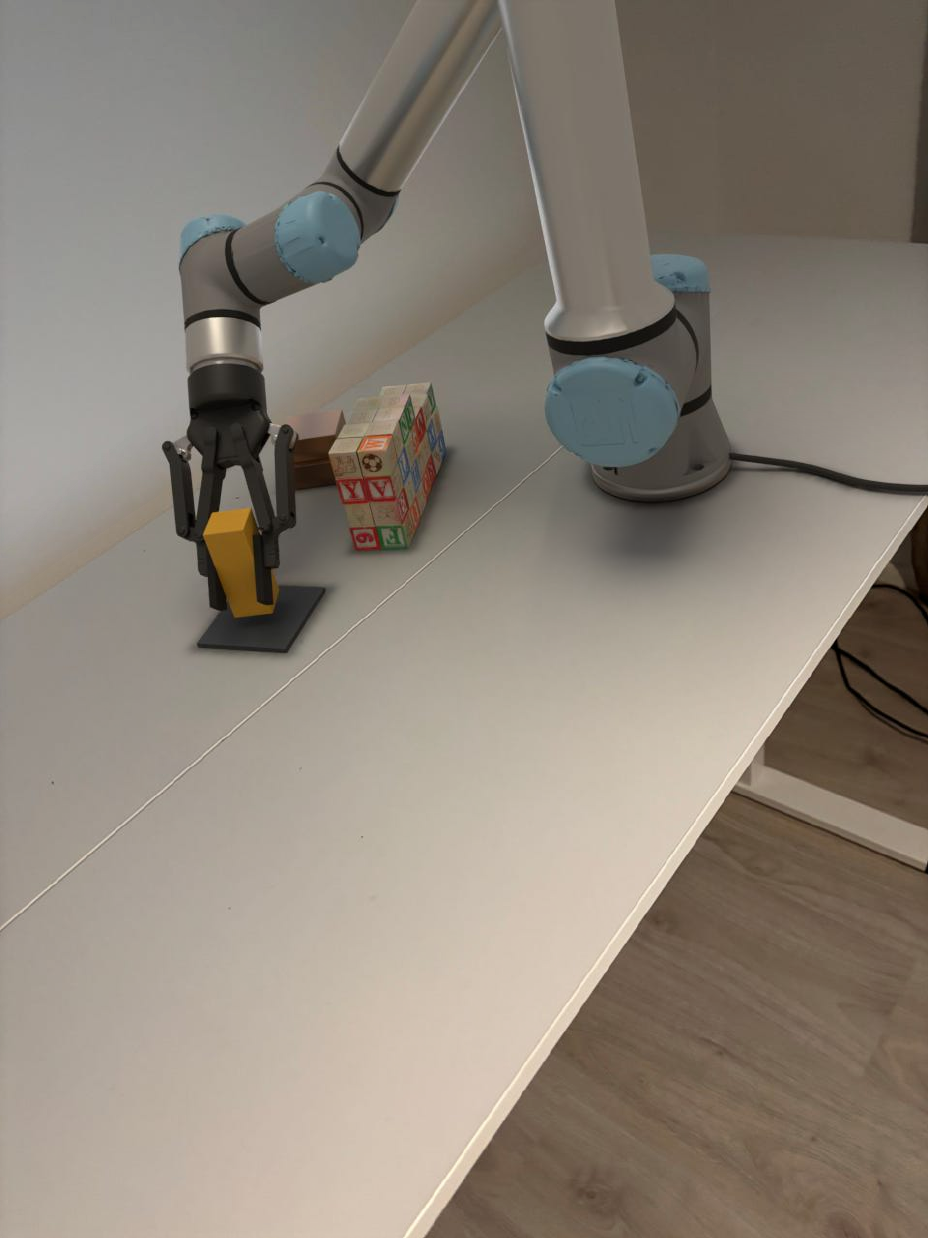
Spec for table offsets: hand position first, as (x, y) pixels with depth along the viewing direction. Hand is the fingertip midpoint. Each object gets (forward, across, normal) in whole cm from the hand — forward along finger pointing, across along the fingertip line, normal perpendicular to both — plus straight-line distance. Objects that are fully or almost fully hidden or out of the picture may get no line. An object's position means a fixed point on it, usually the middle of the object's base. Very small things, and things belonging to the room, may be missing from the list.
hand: (241, 605), depth 99 cm
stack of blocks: (-14, -13, -20) cm, 28 cm away
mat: (+1, 0, -6) cm, 6 cm away
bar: (-1, 0, -5) cm, 5 cm away
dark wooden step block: (-21, -2, -28) cm, 35 cm away
